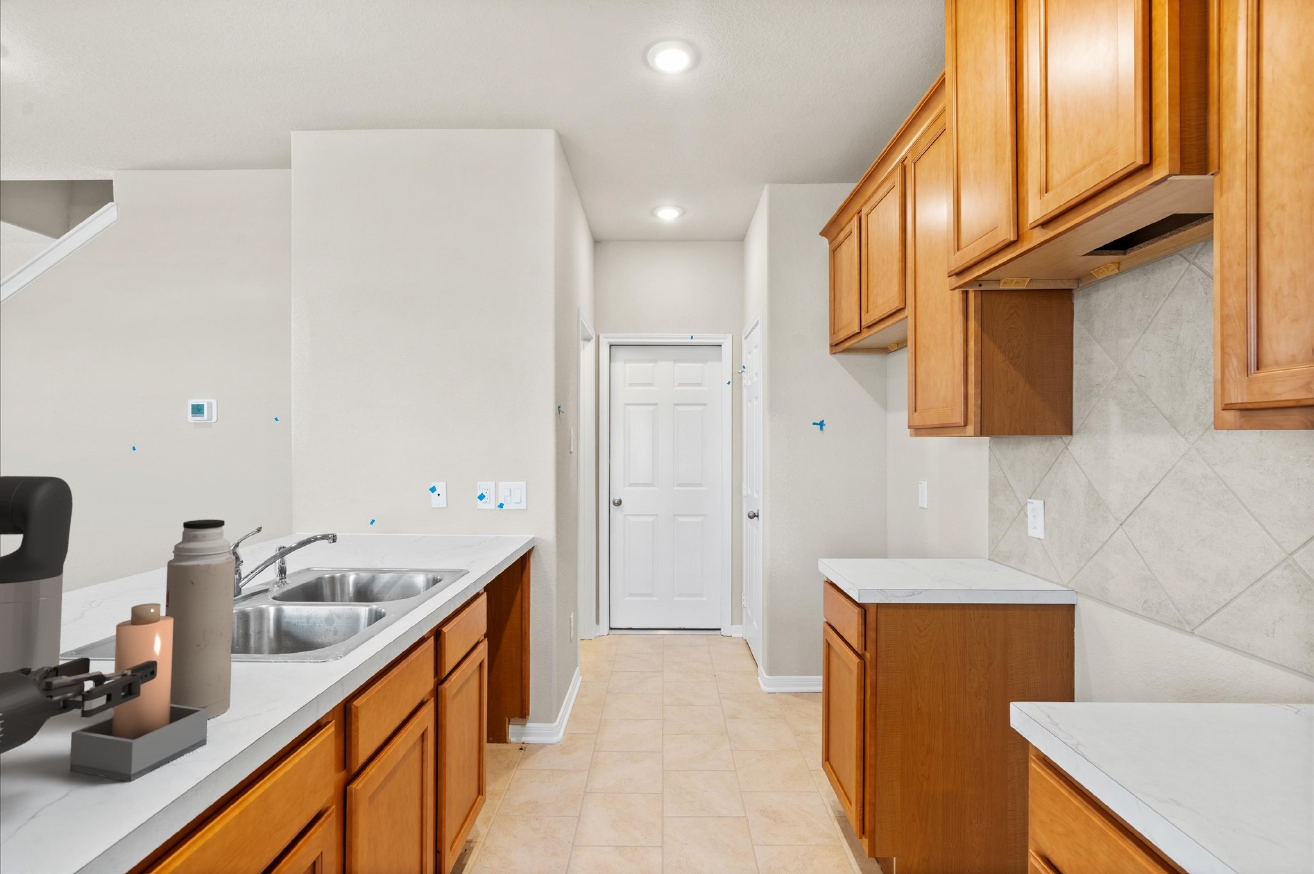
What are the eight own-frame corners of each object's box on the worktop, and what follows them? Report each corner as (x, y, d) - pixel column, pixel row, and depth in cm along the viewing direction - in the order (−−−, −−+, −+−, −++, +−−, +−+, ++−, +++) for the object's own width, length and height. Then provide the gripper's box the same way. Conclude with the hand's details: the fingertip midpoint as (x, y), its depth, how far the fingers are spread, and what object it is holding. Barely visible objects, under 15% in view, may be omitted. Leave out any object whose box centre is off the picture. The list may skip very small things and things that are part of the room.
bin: (70, 770, 73) (71, 732, 73) (150, 734, 82) (151, 701, 82) (131, 781, 71) (132, 742, 71) (206, 743, 80) (207, 709, 80)
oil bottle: (99, 758, 74) (104, 609, 74) (146, 737, 79) (151, 599, 80) (134, 764, 73) (140, 613, 73) (179, 743, 78) (185, 602, 78)
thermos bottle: (151, 728, 84) (159, 524, 84) (173, 704, 91) (181, 517, 92) (220, 720, 86) (227, 523, 87) (236, 698, 94) (243, 516, 94)
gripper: (32, 691, 57) (178, 637, 73) (-111, 685, 57) (65, 633, 74) (29, 773, 56) (176, 701, 73) (-114, 765, 57) (63, 695, 73)
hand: (120, 667), depth 73 cm, fingers open, 8 cm apart
